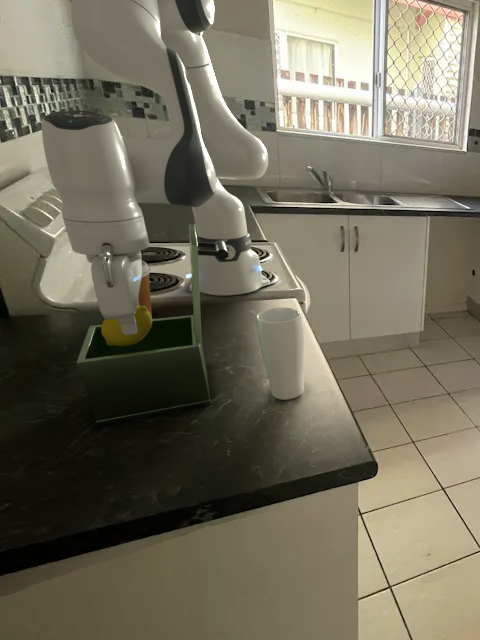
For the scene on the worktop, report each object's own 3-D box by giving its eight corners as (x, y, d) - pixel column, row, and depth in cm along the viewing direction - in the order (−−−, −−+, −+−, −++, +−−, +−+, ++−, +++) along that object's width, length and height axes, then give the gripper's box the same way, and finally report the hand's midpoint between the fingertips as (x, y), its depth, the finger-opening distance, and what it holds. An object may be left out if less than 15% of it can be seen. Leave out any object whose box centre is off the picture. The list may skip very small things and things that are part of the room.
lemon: (108, 357, 71) (146, 317, 71) (80, 332, 70) (118, 292, 71) (135, 356, 76) (170, 319, 77) (108, 333, 76) (144, 297, 77)
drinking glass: (299, 379, 88) (291, 304, 82) (315, 395, 84) (308, 317, 77) (260, 390, 83) (249, 312, 77) (275, 408, 79) (264, 326, 73)
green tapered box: (97, 426, 71) (76, 362, 66) (106, 383, 81) (89, 325, 76) (210, 404, 78) (198, 346, 74) (206, 367, 88) (195, 314, 84)
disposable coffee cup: (104, 328, 99) (89, 273, 94) (109, 312, 106) (94, 260, 101) (160, 322, 104) (148, 269, 99) (161, 307, 111) (149, 257, 106)
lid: (191, 244, 68) (230, 247, 71) (188, 224, 78) (223, 226, 81) (195, 343, 73) (231, 342, 76) (192, 312, 84) (224, 312, 86)
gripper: (132, 254, 62) (155, 348, 68) (140, 220, 77) (158, 299, 83) (68, 257, 59) (98, 355, 64) (90, 221, 74) (113, 303, 80)
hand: (132, 323), depth 74 cm, fingers open, 6 cm apart
